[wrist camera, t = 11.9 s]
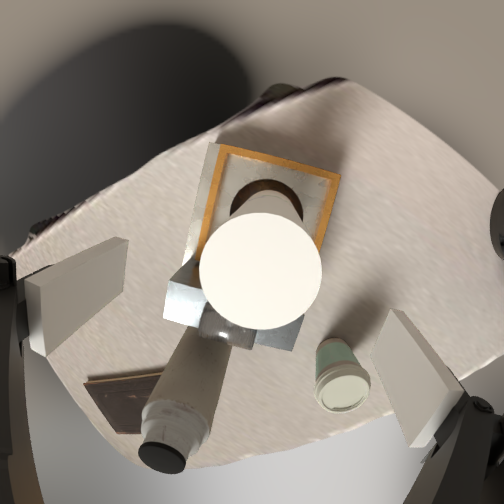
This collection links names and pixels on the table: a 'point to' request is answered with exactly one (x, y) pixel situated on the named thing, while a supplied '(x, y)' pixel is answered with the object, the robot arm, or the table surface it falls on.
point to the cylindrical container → (261, 264)
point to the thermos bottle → (183, 403)
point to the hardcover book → (123, 400)
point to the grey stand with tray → (220, 209)
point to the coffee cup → (339, 378)
